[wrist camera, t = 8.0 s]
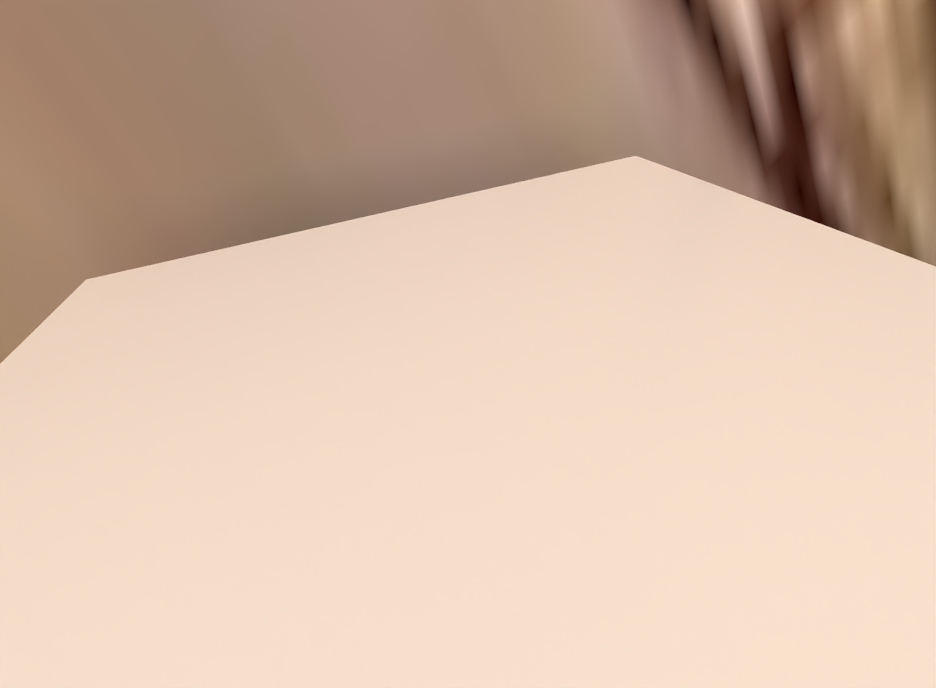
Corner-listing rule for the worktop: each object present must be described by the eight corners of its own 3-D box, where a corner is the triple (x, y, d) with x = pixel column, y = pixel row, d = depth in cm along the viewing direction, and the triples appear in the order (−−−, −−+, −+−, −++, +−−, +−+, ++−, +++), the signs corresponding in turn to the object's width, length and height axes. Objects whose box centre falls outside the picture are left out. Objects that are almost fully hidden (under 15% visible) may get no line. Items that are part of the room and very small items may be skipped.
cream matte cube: (636, 156, 10) (1742, 567, 2) (670, 569, 13) (1180, 1354, 5) (86, 279, 10) (-1179, 1521, 2) (260, 684, 13) (145, 1778, 5)
